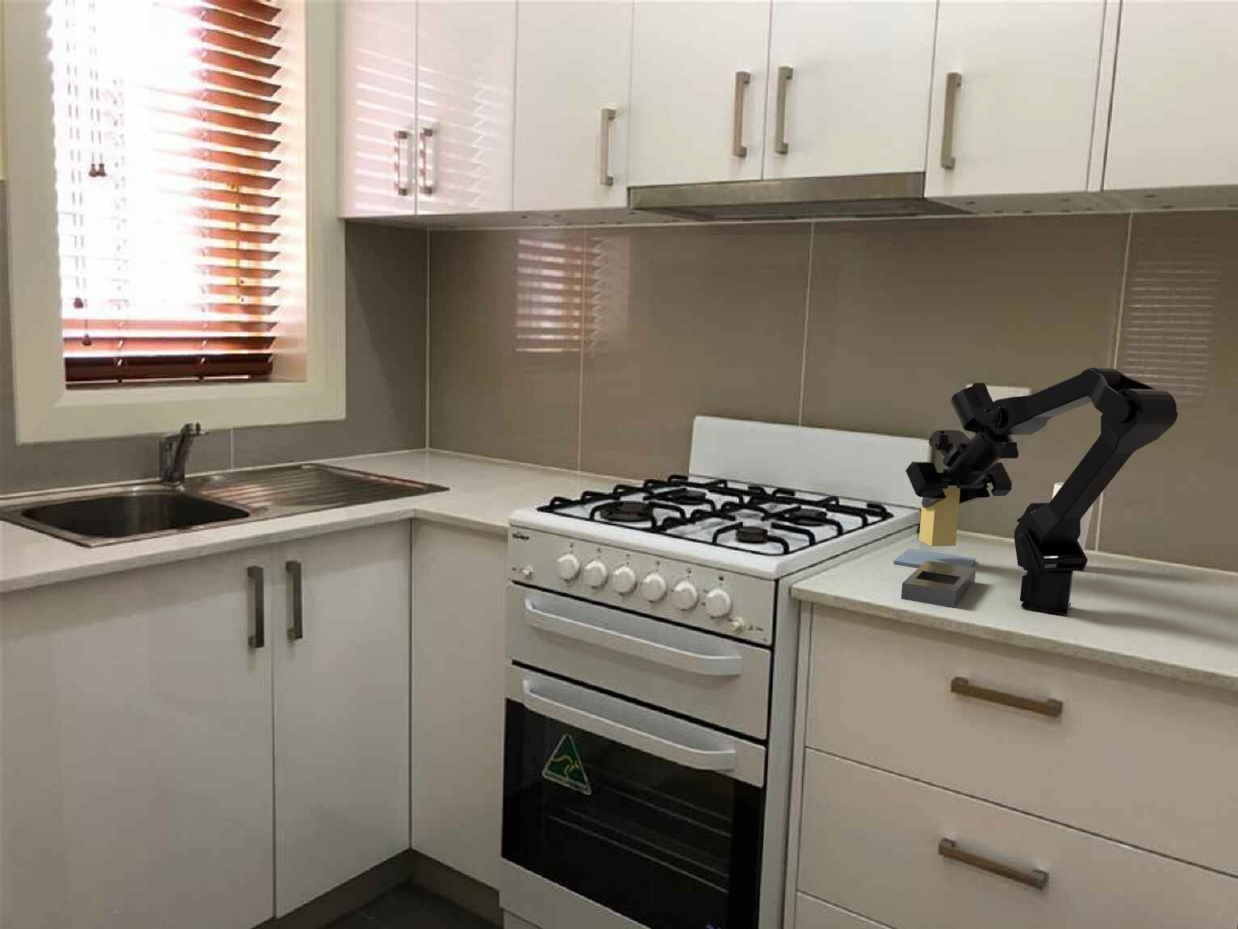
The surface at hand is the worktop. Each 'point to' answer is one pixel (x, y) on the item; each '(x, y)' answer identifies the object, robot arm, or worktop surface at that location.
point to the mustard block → (941, 520)
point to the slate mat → (930, 558)
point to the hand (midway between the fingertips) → (935, 505)
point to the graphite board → (938, 583)
